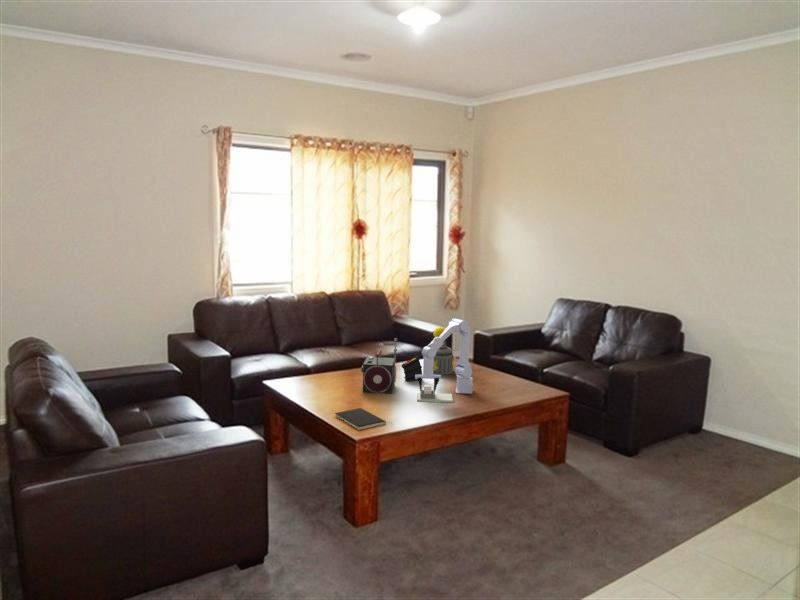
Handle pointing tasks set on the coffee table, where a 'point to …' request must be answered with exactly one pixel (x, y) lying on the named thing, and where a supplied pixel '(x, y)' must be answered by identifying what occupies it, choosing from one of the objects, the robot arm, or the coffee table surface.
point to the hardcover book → (360, 418)
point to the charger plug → (427, 389)
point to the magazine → (412, 369)
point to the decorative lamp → (443, 357)
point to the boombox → (379, 374)
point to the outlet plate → (434, 397)
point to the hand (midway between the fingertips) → (427, 391)
